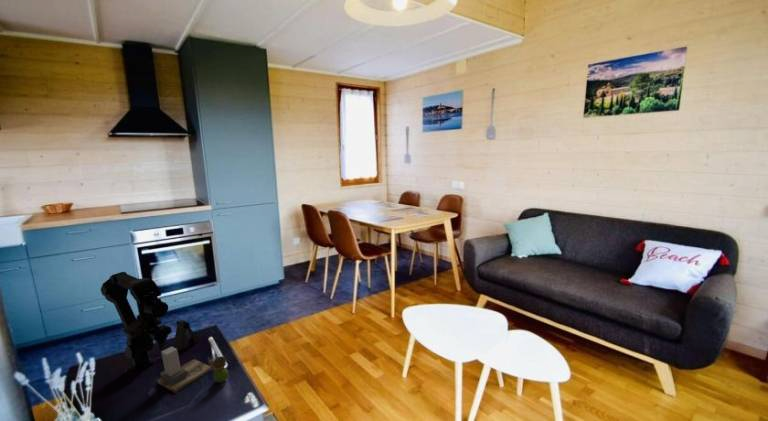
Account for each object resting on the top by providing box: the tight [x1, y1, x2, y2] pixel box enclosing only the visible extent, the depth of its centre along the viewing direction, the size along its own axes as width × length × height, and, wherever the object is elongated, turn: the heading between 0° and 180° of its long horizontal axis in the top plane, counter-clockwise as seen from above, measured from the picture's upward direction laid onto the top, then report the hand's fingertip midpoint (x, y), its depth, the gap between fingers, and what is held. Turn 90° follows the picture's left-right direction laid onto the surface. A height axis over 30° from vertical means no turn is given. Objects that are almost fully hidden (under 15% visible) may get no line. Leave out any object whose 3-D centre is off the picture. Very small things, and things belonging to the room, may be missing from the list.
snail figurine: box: [207, 355, 230, 384], centre depth 134 cm, size 5×6×12 cm
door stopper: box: [172, 318, 200, 352], centre depth 160 cm, size 9×6×12 cm, turn 148°
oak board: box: [157, 358, 213, 394], centre depth 139 cm, size 12×15×1 cm
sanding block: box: [160, 346, 187, 385], centre depth 135 cm, size 8×6×12 cm
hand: (154, 346), depth 137 cm, fingers open, 9 cm apart
